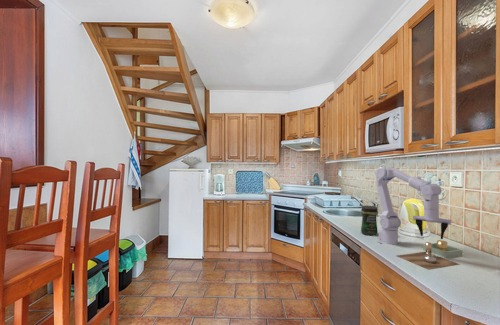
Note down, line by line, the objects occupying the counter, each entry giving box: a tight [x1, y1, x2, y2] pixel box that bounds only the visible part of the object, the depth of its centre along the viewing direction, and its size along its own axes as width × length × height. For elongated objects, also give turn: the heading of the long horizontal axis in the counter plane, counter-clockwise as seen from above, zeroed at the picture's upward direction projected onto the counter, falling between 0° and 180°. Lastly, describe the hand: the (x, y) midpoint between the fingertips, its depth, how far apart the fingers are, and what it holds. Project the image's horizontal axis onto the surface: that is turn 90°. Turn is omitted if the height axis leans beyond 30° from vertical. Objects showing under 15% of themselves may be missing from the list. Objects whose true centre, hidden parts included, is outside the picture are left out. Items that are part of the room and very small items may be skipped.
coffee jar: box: [360, 205, 379, 236], centre depth 155 cm, size 10×8×19 cm
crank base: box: [396, 251, 461, 271], centre depth 110 cm, size 16×20×1 cm
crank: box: [424, 241, 436, 263], centre depth 111 cm, size 11×4×6 cm, turn 147°
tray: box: [422, 242, 463, 259], centre depth 119 cm, size 11×11×4 cm
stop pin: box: [436, 239, 448, 252], centre depth 119 cm, size 4×4×6 cm
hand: (431, 237), depth 114 cm, fingers open, 7 cm apart
